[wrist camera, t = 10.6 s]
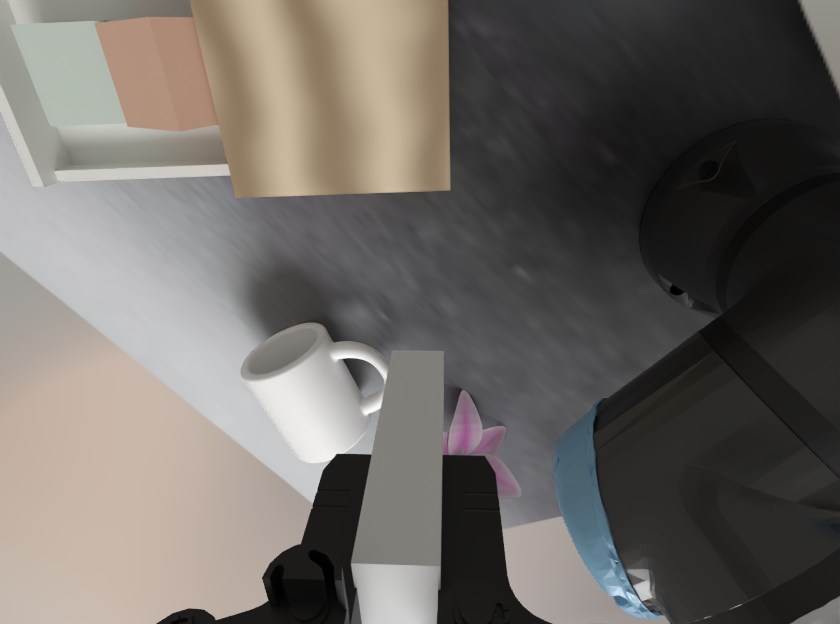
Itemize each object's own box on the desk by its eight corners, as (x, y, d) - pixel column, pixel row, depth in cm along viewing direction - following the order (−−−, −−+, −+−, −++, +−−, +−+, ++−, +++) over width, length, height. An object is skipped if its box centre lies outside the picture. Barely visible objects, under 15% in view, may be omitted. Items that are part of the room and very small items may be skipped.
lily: (514, 464, 54) (556, 501, 45) (422, 516, 52) (446, 567, 43) (472, 370, 52) (507, 388, 43) (375, 420, 50) (390, 451, 41)
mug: (305, 413, 50) (284, 473, 43) (257, 336, 45) (224, 390, 38) (413, 382, 47) (409, 440, 40) (373, 298, 43) (361, 348, 36)
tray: (209, -57, 30) (180, -70, 27) (256, 167, 37) (237, 179, 34) (-16, -44, 31) (-73, -55, 28) (70, 174, 38) (33, 187, 35)
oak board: (444, -92, 29) (446, -115, 25) (448, 173, 37) (450, 190, 33) (205, -77, 30) (166, -97, 26) (258, 180, 38) (235, 197, 33)
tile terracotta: (196, 17, 29) (148, 16, 26) (221, 124, 31) (179, 131, 29) (141, 23, 31) (94, 23, 29) (168, 120, 34) (127, 126, 32)
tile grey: (10, 24, 30) (44, 26, 33) (50, 126, 33) (78, 120, 35) (103, 20, 30) (129, 22, 32) (135, 123, 33) (157, 117, 35)
